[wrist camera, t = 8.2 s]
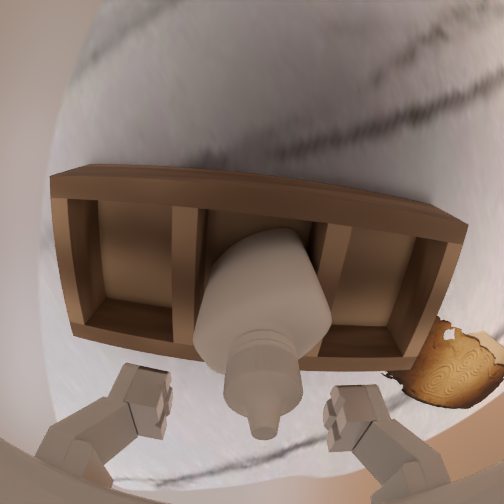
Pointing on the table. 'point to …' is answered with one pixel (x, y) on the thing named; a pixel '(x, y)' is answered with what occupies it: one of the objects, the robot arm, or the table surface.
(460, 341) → the parchment
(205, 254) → the slot rack
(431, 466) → the robot arm
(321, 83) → the table surface
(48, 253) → the table surface
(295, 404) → the eye dropper bottle
